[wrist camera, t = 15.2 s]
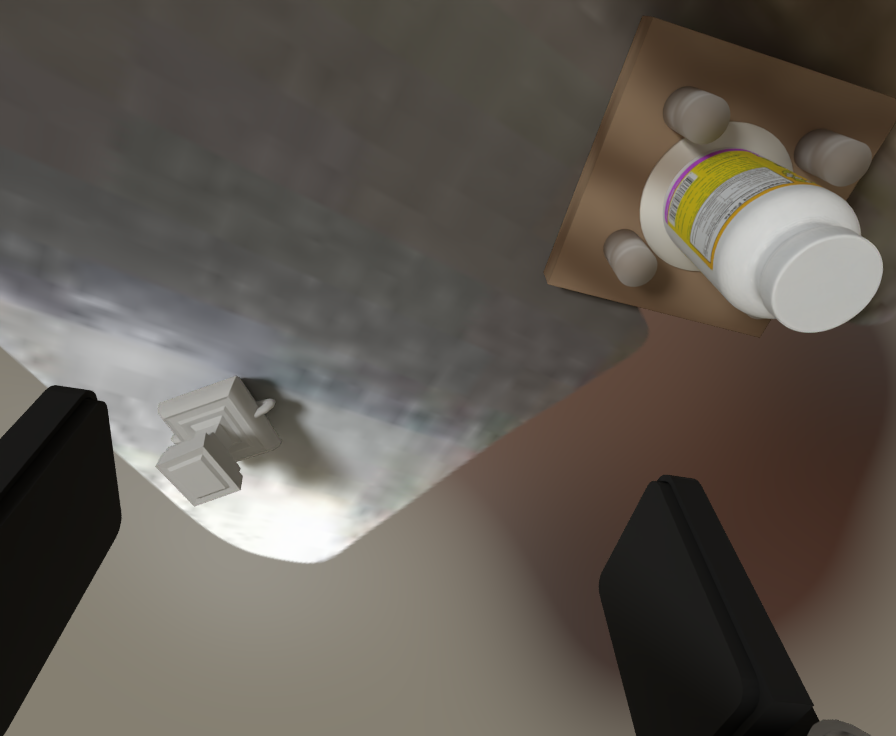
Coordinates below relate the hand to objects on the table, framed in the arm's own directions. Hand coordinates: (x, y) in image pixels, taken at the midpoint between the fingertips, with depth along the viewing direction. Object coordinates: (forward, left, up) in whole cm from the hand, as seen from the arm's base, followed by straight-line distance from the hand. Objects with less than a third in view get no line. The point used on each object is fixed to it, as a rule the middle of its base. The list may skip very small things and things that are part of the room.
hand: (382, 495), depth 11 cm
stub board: (-1, +18, -31) cm, 36 cm away
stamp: (+24, -10, -31) cm, 40 cm away
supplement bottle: (-1, +18, -29) cm, 34 cm away
